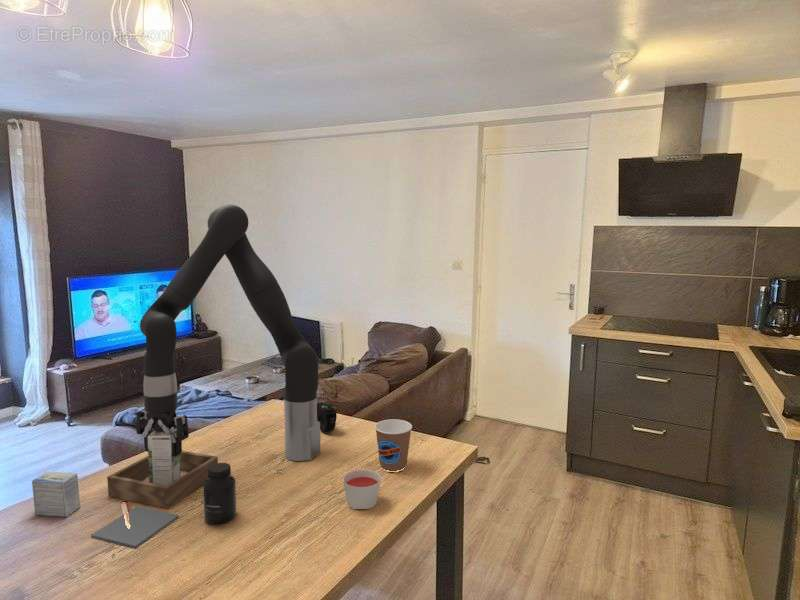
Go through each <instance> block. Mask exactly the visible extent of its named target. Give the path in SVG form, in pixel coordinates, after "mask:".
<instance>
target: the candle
mask: <svg viewBox="0 0 800 600" xmlns="http://www.w3.org/2000/svg"><path fill="white" fill-rule="evenodd" d="M342 481H343V486H344V491H345V496H346V497H345V498H346V501H347V505H348V506H349V507H350V509H351V508H352V509H353V508H354V510H356V509H367V510H369V509H368V508H370V509H372V508H374V507H375V506H376V505H377V502H378V498H379V491H380V486H381V481H382V476H381V474H380V473H379V472H377V471H375V470H372V469H365V468H364V469H361V468H360V469H354V470H351V471H349V472H347V473H346V474H345V475H344V476H343V478H342ZM375 504H376V505H375ZM374 505H375V506H374ZM373 506H374V507H373ZM371 507H372V508H371Z"/></svg>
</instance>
